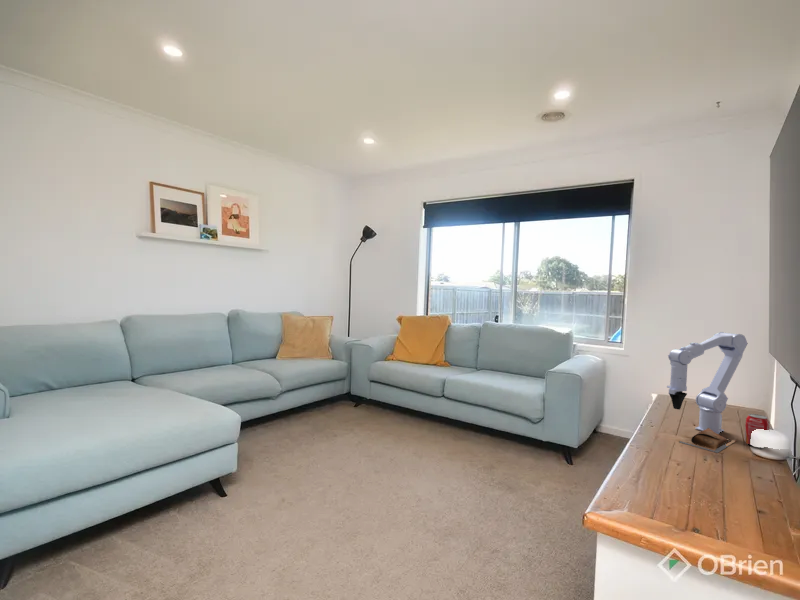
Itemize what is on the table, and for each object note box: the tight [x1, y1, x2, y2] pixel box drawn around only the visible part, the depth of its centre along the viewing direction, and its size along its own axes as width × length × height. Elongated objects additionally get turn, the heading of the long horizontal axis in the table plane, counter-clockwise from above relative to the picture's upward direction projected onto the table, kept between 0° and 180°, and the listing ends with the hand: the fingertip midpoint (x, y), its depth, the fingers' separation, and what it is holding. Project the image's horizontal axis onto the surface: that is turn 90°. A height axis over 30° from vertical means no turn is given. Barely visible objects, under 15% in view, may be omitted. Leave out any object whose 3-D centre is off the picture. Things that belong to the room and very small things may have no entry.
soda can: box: [744, 413, 770, 445], centre depth 159 cm, size 7×7×12 cm
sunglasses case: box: [691, 428, 729, 450], centre depth 162 cm, size 18×7×7 cm
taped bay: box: [679, 441, 729, 454], centre depth 161 cm, size 24×12×1 cm, turn 127°
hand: (676, 408), depth 174 cm, fingers closed
